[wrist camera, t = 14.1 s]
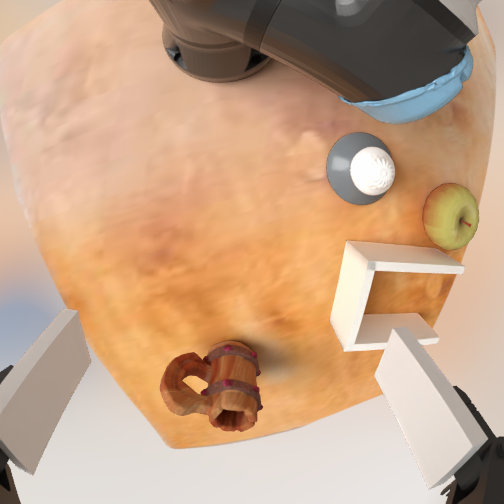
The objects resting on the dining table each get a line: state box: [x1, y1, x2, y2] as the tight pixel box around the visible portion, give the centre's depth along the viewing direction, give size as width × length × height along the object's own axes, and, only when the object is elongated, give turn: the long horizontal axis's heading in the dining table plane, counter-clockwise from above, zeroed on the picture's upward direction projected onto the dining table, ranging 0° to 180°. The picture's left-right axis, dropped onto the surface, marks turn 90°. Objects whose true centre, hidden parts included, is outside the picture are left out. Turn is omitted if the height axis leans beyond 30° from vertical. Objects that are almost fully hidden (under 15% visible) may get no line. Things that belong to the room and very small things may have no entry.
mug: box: [160, 341, 263, 432], centre depth 38 cm, size 15×8×15 cm, turn 66°
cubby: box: [330, 240, 465, 352], centre depth 39 cm, size 13×17×8 cm
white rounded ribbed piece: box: [350, 147, 395, 195], centre depth 33 cm, size 6×6×7 cm
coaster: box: [326, 133, 392, 205], centre depth 36 cm, size 10×10×1 cm
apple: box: [423, 183, 479, 250], centre depth 35 cm, size 10×10×8 cm
